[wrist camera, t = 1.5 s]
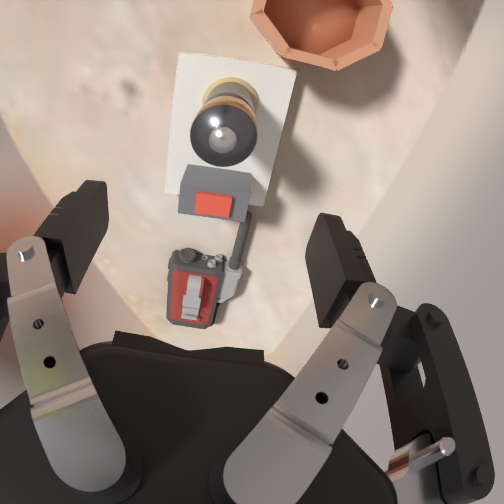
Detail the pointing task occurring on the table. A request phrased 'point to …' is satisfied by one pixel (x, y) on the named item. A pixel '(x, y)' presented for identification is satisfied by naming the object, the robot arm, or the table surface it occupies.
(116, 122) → the table surface
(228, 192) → the tester
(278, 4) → the cup
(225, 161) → the cell
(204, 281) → the walkie-talkie
